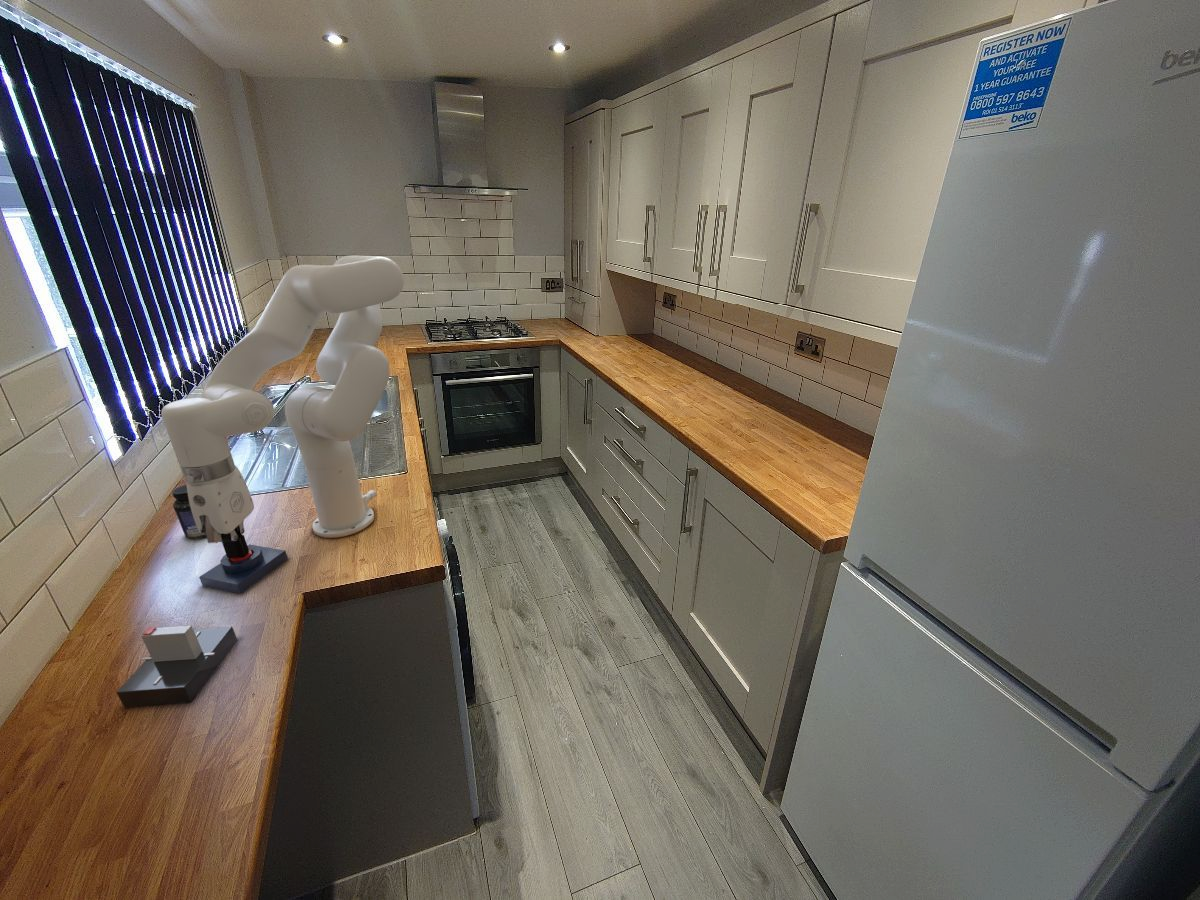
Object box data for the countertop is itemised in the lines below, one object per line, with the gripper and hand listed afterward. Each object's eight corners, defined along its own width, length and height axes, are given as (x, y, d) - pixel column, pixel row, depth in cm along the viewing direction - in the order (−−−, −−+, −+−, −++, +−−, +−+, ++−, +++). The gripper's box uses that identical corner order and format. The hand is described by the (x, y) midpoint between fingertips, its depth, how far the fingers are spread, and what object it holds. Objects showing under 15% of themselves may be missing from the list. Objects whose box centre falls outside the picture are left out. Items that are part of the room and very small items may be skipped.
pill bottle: (226, 527, 117) (210, 483, 112) (199, 542, 111) (181, 497, 107) (205, 523, 119) (189, 480, 114) (178, 538, 113) (160, 493, 109)
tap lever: (202, 651, 79) (191, 623, 77) (196, 659, 77) (184, 631, 75) (160, 654, 79) (148, 626, 76) (153, 662, 77) (140, 634, 75)
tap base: (176, 644, 84) (169, 629, 83) (241, 640, 85) (236, 625, 84) (119, 708, 73) (110, 691, 72) (195, 702, 74) (188, 686, 73)
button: (243, 555, 103) (241, 547, 102) (258, 557, 102) (256, 550, 101) (227, 566, 99) (224, 558, 99) (242, 568, 99) (239, 561, 98)
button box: (252, 553, 108) (246, 536, 106) (288, 559, 105) (283, 542, 104) (202, 586, 98) (195, 569, 96) (240, 594, 96) (234, 576, 94)
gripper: (205, 486, 86) (237, 578, 93) (253, 450, 99) (278, 533, 107) (157, 488, 85) (193, 581, 93) (212, 452, 99) (239, 535, 106)
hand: (238, 555), depth 100 cm, fingers closed
